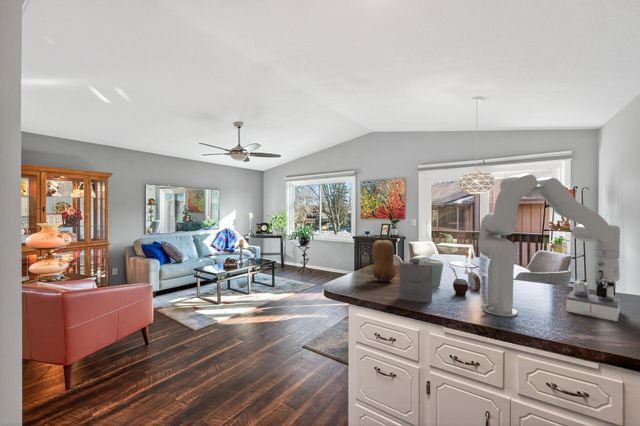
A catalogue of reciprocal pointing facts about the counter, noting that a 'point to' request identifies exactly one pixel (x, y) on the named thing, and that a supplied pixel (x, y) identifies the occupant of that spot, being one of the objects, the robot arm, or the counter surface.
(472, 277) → the bread slice
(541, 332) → the counter surface
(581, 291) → the spacer
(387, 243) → the butternut squash
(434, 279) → the disposable coffee cup
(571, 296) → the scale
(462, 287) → the mate gourd
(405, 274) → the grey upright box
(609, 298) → the spacer
